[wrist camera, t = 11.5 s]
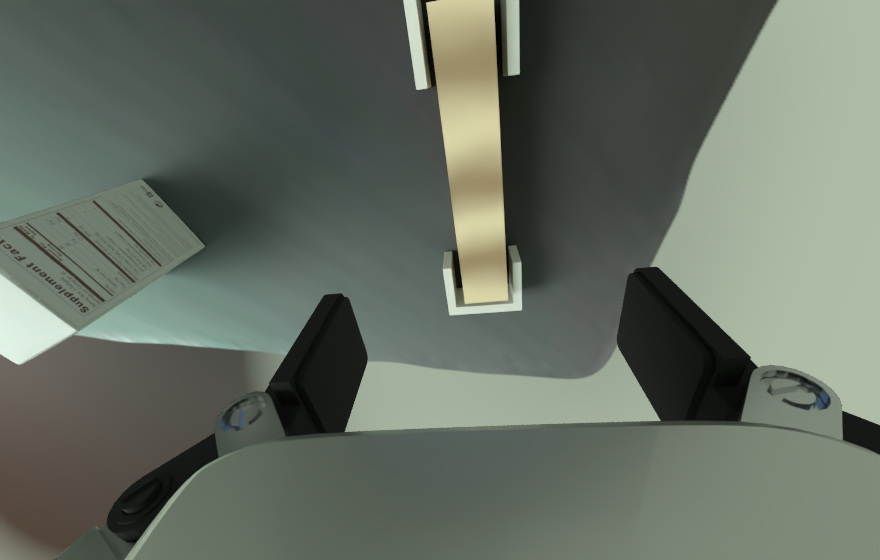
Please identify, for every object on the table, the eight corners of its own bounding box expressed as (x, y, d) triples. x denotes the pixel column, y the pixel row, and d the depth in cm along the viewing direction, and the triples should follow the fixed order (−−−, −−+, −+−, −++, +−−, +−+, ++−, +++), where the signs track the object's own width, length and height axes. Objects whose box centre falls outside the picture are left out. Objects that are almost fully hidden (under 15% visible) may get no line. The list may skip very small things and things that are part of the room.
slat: (432, 15, 22) (426, 2, 18) (487, 5, 21) (493, -11, 18) (464, 276, 32) (464, 303, 28) (502, 273, 32) (508, 300, 28)
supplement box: (159, 275, 34) (16, 369, 23) (92, 212, 30) (-112, 286, 20) (210, 247, 32) (78, 334, 21) (143, 175, 28) (-52, 235, 18)
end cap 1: (409, -2, 21) (401, -13, 19) (511, -21, 21) (518, -36, 18) (421, 88, 24) (416, 89, 21) (512, 74, 23) (519, 74, 20)
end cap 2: (444, 251, 30) (442, 269, 28) (516, 245, 30) (521, 262, 27) (450, 295, 33) (449, 315, 30) (516, 290, 32) (521, 310, 29)
